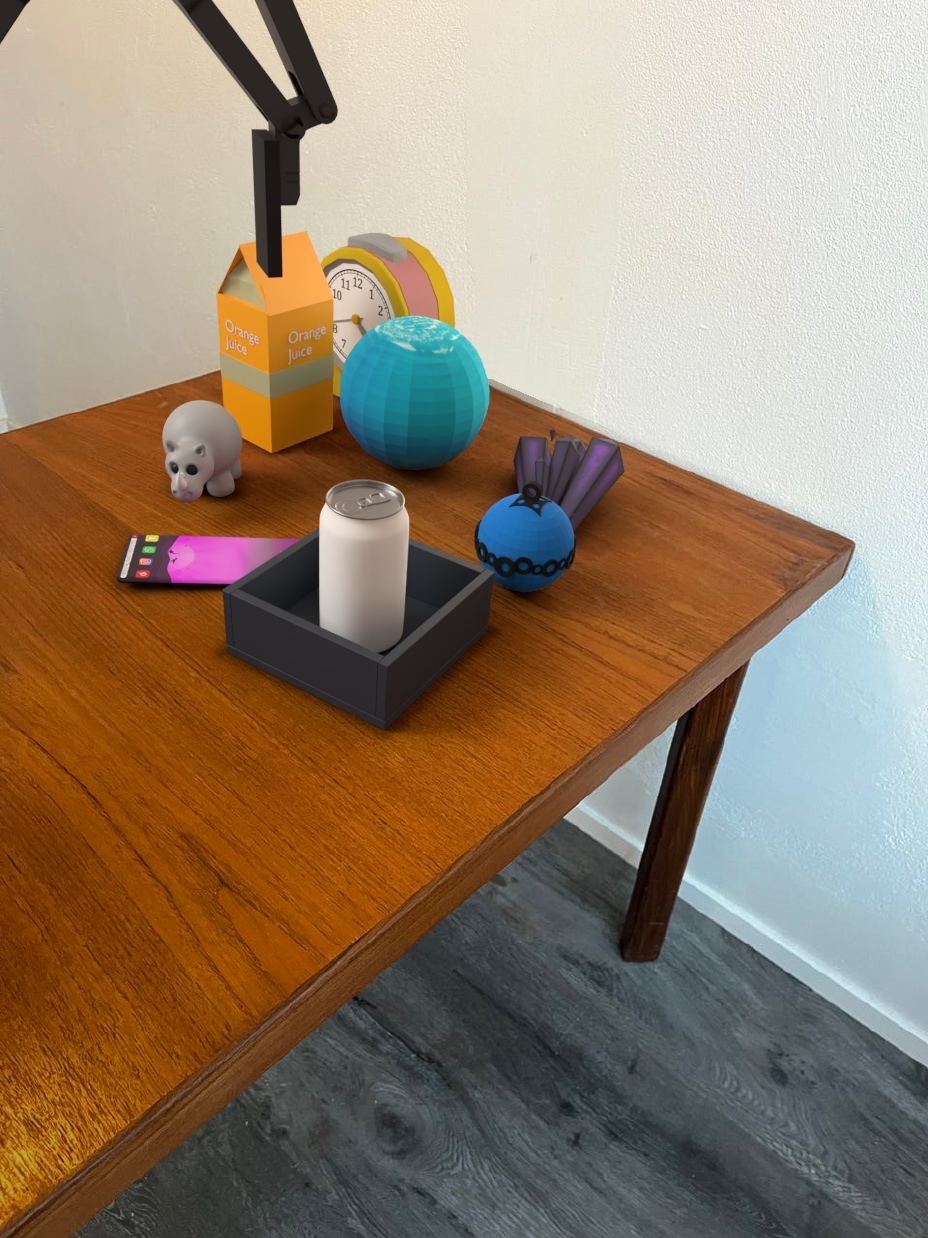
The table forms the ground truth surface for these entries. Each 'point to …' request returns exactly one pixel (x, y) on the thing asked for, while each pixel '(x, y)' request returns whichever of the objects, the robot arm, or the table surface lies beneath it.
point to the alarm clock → (381, 289)
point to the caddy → (338, 668)
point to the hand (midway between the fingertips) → (135, 275)
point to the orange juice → (277, 346)
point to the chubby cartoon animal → (202, 450)
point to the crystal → (569, 471)
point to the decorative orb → (414, 392)
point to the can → (363, 563)
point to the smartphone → (195, 558)
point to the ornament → (525, 540)
